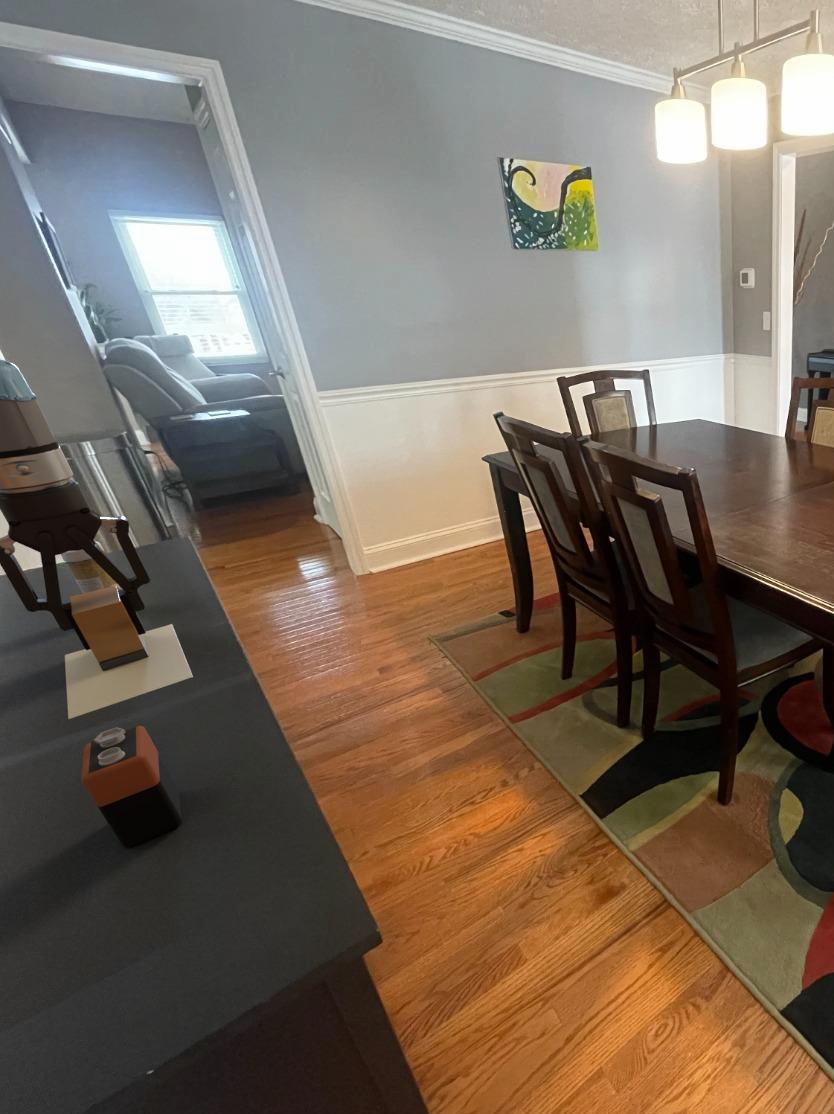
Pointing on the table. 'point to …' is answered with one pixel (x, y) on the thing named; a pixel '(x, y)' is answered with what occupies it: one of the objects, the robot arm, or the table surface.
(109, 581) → the sprinkles bottle
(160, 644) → the board
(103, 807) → the battery
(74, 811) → the table surface
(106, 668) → the eraser
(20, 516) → the robot arm
